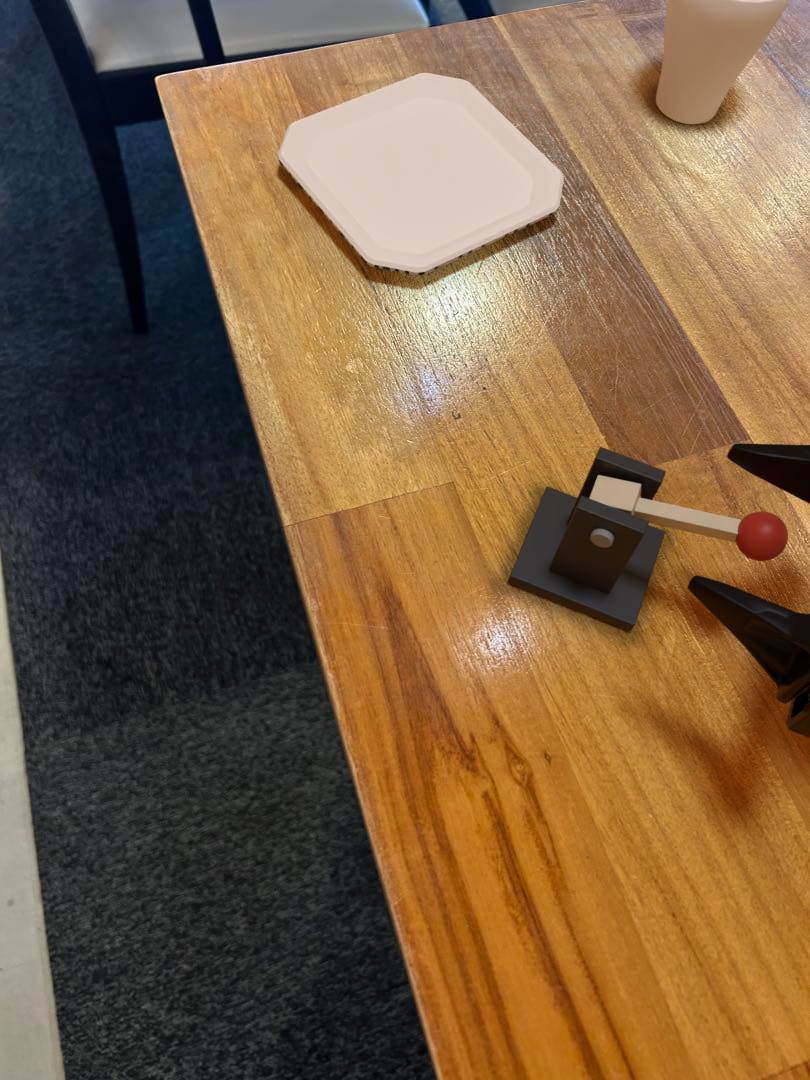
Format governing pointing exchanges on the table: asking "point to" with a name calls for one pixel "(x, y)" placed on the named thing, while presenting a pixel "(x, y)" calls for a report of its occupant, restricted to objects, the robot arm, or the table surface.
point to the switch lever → (697, 519)
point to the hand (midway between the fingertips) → (711, 513)
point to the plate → (420, 173)
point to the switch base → (593, 546)
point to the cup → (709, 52)
